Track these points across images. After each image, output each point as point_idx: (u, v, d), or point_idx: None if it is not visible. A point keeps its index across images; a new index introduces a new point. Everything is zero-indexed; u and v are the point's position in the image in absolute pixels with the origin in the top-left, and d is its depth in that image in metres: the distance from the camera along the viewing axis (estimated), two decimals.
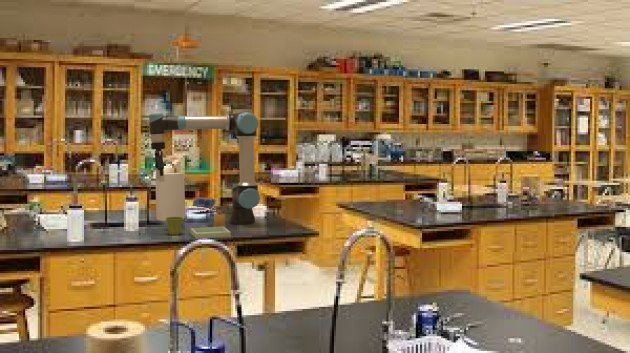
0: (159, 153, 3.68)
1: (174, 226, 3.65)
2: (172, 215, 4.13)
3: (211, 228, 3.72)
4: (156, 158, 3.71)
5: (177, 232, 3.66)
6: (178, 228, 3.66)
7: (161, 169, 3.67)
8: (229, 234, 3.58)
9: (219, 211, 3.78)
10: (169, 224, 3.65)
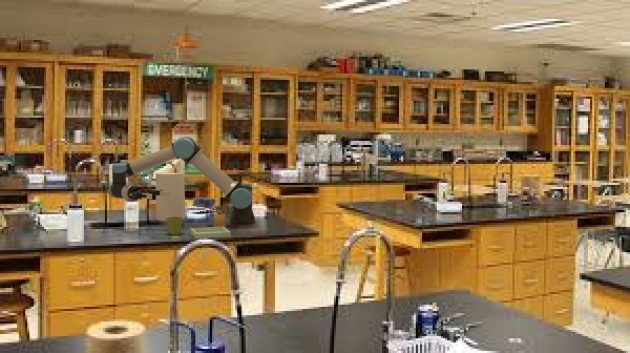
0: (130, 195, 3.73)
1: (174, 226, 3.65)
2: (172, 215, 4.13)
3: (211, 228, 3.72)
4: None
5: (177, 232, 3.66)
6: (178, 228, 3.66)
7: (139, 195, 3.68)
8: (229, 234, 3.58)
9: (219, 211, 3.78)
10: (169, 224, 3.65)
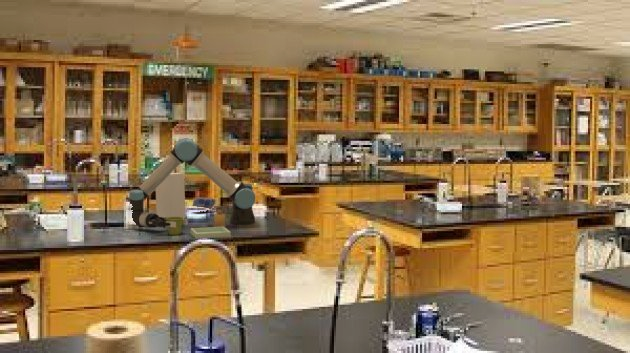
0: (150, 223, 3.68)
1: None
2: (172, 215, 4.13)
3: (211, 228, 3.72)
4: None
5: (177, 232, 3.66)
6: (178, 228, 3.66)
7: (163, 224, 3.64)
8: (229, 234, 3.58)
9: (219, 211, 3.78)
10: None
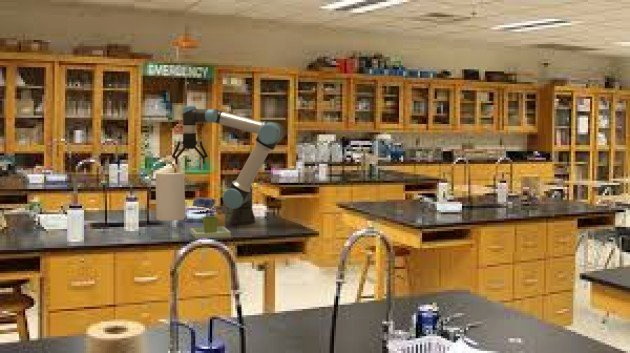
0: (177, 143, 3.93)
1: (211, 226, 3.60)
2: (172, 215, 4.13)
3: None
4: (182, 148, 3.95)
5: (214, 232, 3.62)
6: (214, 228, 3.62)
7: None
8: (229, 234, 3.58)
9: (219, 211, 3.78)
10: (205, 224, 3.61)
